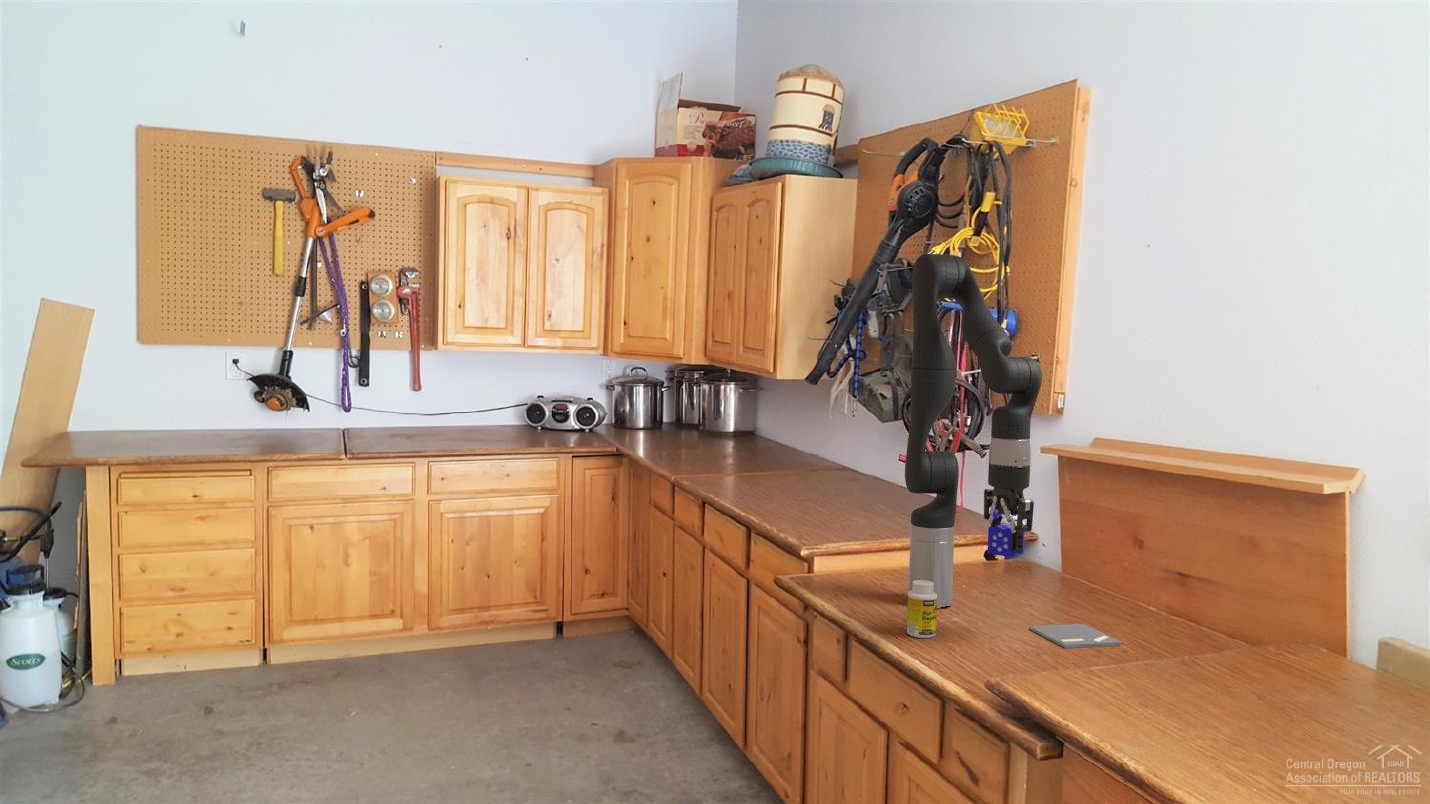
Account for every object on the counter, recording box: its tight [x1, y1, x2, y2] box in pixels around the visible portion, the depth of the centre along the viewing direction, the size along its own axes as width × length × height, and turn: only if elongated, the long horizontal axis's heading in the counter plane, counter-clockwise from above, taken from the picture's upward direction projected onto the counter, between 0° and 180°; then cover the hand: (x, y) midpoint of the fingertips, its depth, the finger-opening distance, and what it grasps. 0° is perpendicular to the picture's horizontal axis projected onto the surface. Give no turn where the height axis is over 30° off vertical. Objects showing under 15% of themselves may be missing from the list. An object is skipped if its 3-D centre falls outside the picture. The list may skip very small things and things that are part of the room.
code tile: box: [1028, 623, 1123, 649], centre depth 174 cm, size 12×12×1 cm
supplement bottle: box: [906, 580, 938, 639], centre depth 174 cm, size 6×6×10 cm
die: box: [987, 523, 1026, 559], centre depth 173 cm, size 5×5×5 cm
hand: (1005, 548), depth 173 cm, fingers closed on die, 6 cm apart
